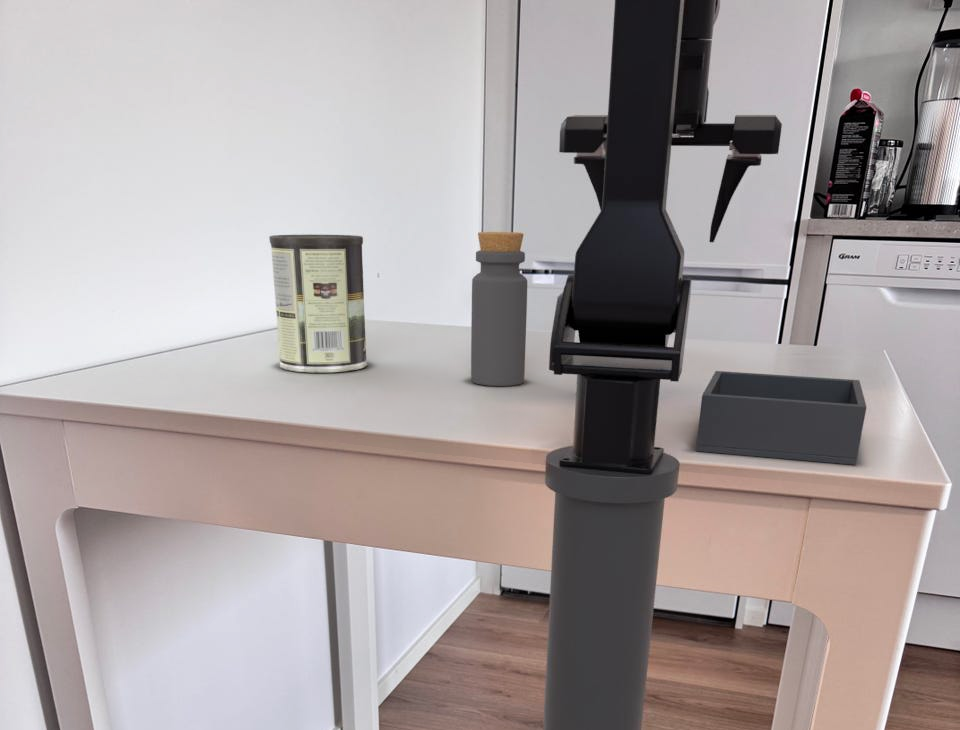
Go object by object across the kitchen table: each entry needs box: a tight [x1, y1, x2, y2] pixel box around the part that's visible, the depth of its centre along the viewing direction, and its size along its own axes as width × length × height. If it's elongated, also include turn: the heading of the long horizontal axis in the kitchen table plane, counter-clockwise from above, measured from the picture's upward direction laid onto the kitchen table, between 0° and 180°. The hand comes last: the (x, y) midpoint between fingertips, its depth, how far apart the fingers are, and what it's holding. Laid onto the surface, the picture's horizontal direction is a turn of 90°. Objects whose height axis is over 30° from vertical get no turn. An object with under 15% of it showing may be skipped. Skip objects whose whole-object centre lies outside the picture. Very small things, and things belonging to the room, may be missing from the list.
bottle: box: [470, 231, 528, 387], centre depth 100 cm, size 6×6×15 cm
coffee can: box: [268, 234, 368, 374], centre depth 108 cm, size 10×10×14 cm
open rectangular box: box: [695, 370, 867, 466], centre depth 79 cm, size 12×12×4 cm
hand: (660, 240), depth 88 cm, fingers open, 9 cm apart
